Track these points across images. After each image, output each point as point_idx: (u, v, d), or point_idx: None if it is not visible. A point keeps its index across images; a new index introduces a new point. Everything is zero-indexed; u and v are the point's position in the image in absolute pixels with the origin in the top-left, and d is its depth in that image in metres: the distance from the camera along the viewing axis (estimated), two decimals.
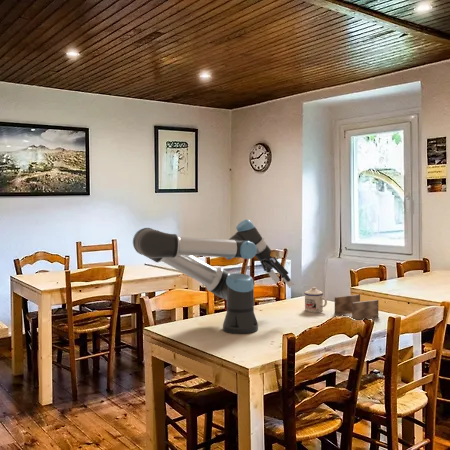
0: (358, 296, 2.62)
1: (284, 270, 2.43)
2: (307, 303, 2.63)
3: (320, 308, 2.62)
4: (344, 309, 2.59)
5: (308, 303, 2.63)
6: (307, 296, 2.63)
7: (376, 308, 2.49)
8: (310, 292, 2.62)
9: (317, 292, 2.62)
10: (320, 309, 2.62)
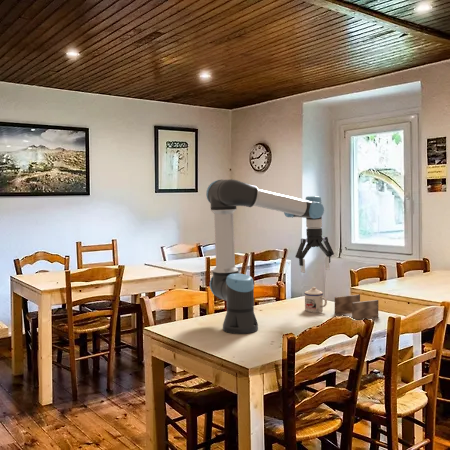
0: (358, 296, 2.62)
1: None
2: (307, 303, 2.63)
3: (320, 308, 2.62)
4: (344, 309, 2.59)
5: (308, 303, 2.63)
6: (307, 296, 2.63)
7: (376, 308, 2.49)
8: (310, 292, 2.62)
9: (317, 292, 2.62)
10: (320, 309, 2.62)
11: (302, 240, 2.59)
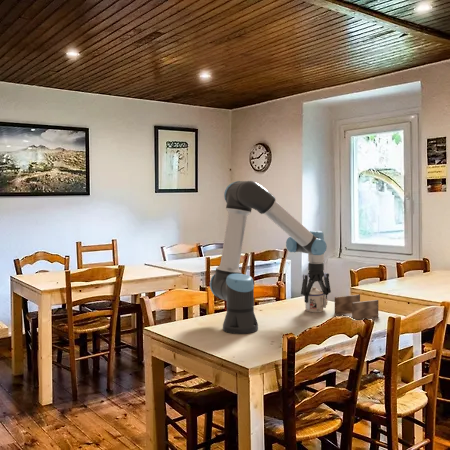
0: (358, 296, 2.62)
1: None
2: None
3: (321, 308, 2.62)
4: (344, 309, 2.59)
5: None
6: None
7: (376, 308, 2.49)
8: (311, 292, 2.62)
9: (318, 292, 2.62)
10: (321, 309, 2.62)
11: (304, 277, 2.61)
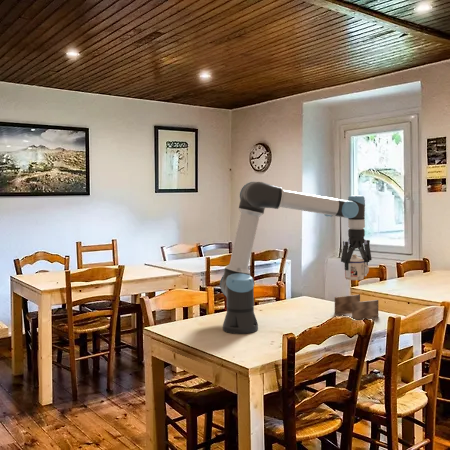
0: (358, 296, 2.62)
1: None
2: None
3: (361, 276, 2.51)
4: (344, 309, 2.59)
5: None
6: None
7: (376, 308, 2.49)
8: (351, 259, 2.51)
9: (358, 259, 2.51)
10: (361, 277, 2.51)
11: (344, 243, 2.49)
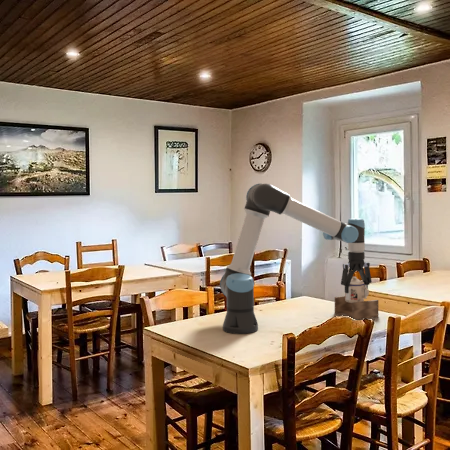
0: None
1: None
2: None
3: (362, 299, 2.52)
4: (344, 309, 2.59)
5: None
6: None
7: (376, 308, 2.49)
8: (351, 282, 2.52)
9: (358, 282, 2.52)
10: (362, 300, 2.52)
11: (344, 266, 2.50)
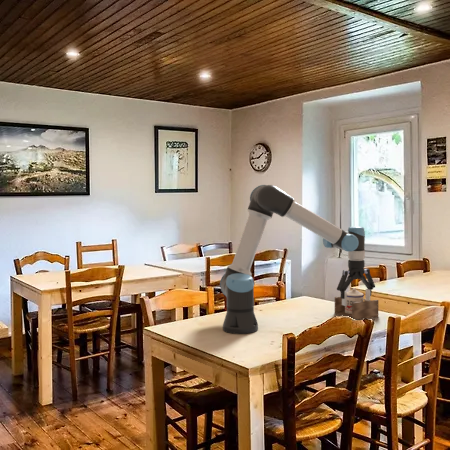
0: None
1: None
2: (347, 305, 2.53)
3: None
4: (344, 309, 2.59)
5: (348, 305, 2.53)
6: (347, 298, 2.53)
7: (376, 308, 2.49)
8: (351, 293, 2.52)
9: (358, 293, 2.52)
10: None
11: (344, 272, 2.50)
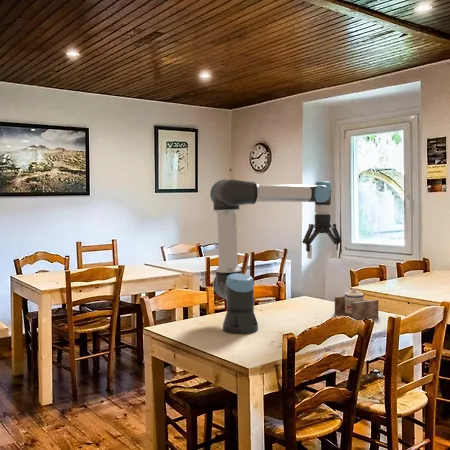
0: None
1: None
2: (347, 305, 2.53)
3: None
4: (344, 309, 2.59)
5: (348, 305, 2.53)
6: (347, 298, 2.53)
7: (376, 308, 2.49)
8: (351, 293, 2.52)
9: (358, 293, 2.52)
10: None
11: (310, 225, 2.55)
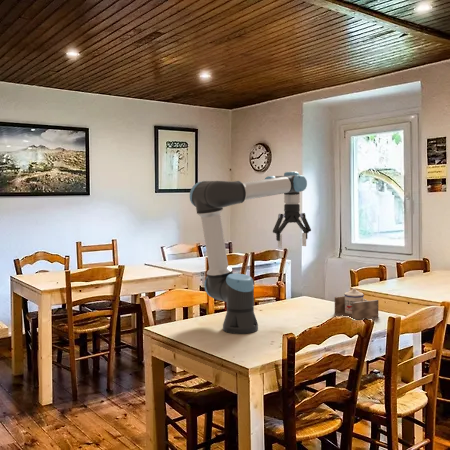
0: None
1: None
2: (347, 305, 2.53)
3: None
4: (344, 309, 2.59)
5: (348, 305, 2.53)
6: (347, 298, 2.53)
7: (376, 308, 2.49)
8: (351, 293, 2.52)
9: (358, 293, 2.52)
10: None
11: (279, 215, 2.60)
